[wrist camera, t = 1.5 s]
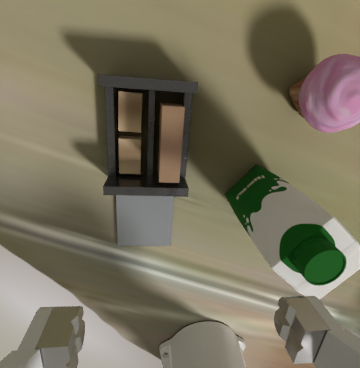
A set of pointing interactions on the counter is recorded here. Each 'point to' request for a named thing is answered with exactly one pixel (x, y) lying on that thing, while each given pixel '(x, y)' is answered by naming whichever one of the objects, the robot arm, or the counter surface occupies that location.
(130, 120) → the oak offcut
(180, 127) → the brown flat block
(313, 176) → the counter surface
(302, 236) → the milk carton
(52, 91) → the counter surface
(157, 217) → the grey mat
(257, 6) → the counter surface
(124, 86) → the rack
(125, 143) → the oak offcut
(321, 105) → the cupcake
